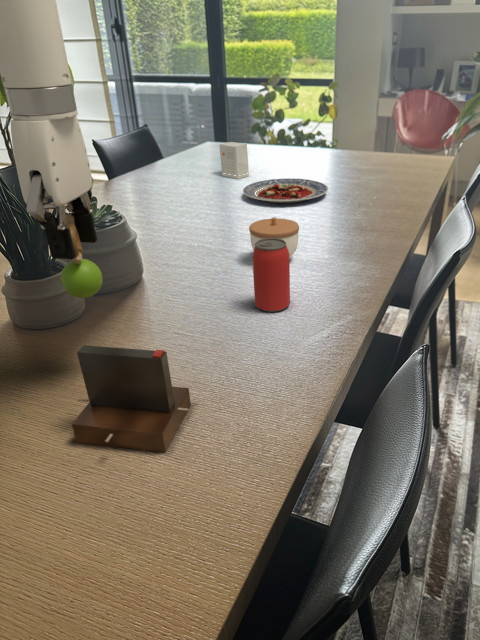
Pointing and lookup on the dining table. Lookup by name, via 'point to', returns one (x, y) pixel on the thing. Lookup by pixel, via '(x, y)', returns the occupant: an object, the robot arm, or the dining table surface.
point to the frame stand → (131, 424)
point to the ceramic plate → (285, 190)
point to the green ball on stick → (80, 268)
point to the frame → (127, 378)
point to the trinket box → (275, 232)
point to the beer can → (271, 274)
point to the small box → (234, 159)
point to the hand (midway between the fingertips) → (75, 248)
